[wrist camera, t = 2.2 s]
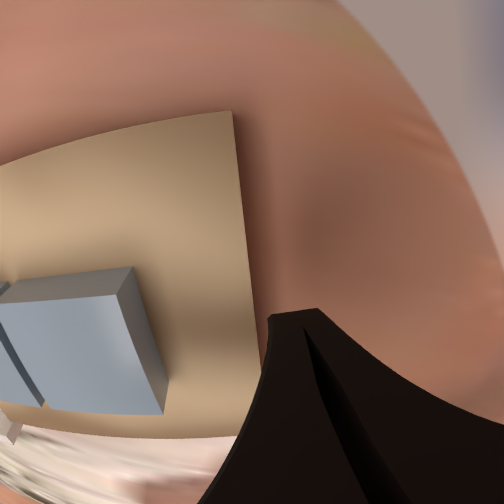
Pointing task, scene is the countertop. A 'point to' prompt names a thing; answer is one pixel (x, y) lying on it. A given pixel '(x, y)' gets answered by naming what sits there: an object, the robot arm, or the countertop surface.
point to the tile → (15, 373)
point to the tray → (8, 429)
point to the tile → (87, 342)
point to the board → (147, 261)
